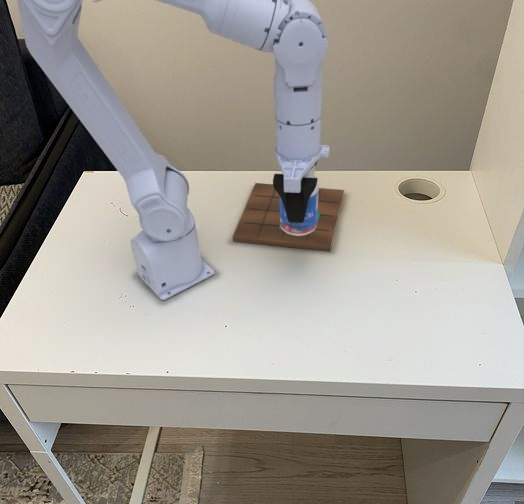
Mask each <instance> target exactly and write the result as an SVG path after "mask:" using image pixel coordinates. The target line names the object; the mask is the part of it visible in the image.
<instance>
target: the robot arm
mask: <svg viewBox="0 0 524 504" xmlns="http://www.w3.org/2000/svg"><path fill="white" fill-rule="evenodd" d="M101 1H102V0H92V3H93V4H95V3H98V2H101ZM155 1H156V2H158V3H162V4H165V5H169V6H172V7H175V8H176V9H177V8H178V9H181V10H184V11H187V12H190V13H193V14H195V15H200V17H201V18H202V20H203V21H204V23H205V25H206V28H207V30H208V31H209V32H210V33H211V34H214V35H217V36H219V37H222V38H224V39H227V40H229V41H233V42H235V43H238V44H241V45H242V46H246V47H249V48H252V49H254V50H257V51H260V52H263V53H272V54H273V55H274V65H275V67H274V69H275V72H274V76H273V96H274V126H275V147H274V157H275V160H276V162H277V165H278V166H279V168H280V172H281V173H274V174H273V178H272V184H273V186H274V189H275V190H276V191H277V193H278V194H279V196H280V198H281V199H282V202H283V205H284V208H285V212H286V216H287V219H288V221H289V222H292V223H303V222H304V219H305V215H306V210H307V205H308V201H309V198H310V196H311V194H312V193H313V191H314V190H315V188H316V185H317V179H318V180H319V178H318V177H316V178H304V175H305V174H306V173H307V172H308V171H309V170H310V169H311V167H312V166H313V165H314V164H315V167H316V166H317V163H318V162H319V159H322V158H323V159H325V158H328V157H329V156H330V149H331V148H330V146H329V144H328V145H327V144H322V141H321V139H322V112H323V111H322V109H323V108H322V107H323V73H322V68H323V60H324V58H325V56H326V55H327V52H328V48H329V40H328V39H327V31H326V28H325V26H324V23H323V20H322V17H321V15H320V12H319V9H317V7H316V5H314V3H313V2H312V1H311V0H155ZM16 3H17V7H18V13H19V17H20V21H21V27H22V32H23V37H24V41H25V46H26V48H27V50H28V52H29V53H30V55H31V56H32V58H33V59H34V60H35V62H36V63H37V65H38V66H39V67H40V69H41V70H42V71H43V73H44V74H45V75H46V76H47V78H48V79H49V81H50V82H51V83H52V85H53V86H54V87H55V89H56V90H57V91H58V93H59V94H60V96H62V98H63V99H64V100H65V102H66V104H67V105H68V106H69V107H70V109H71V110H72V112H73V113H74V114H75V115H76V117H77V118H78V120H79V121H80V122H81V124H82V125H83V126H84V127H85V129H86V130H87V131H88V133H89V134H90V136H91V137H92V138H93V140H94V141H95V142H96V144H97V145H98V147H99V148H100V149H101V150H102V152H103V154H105V156H106V157H107V159H108V160H109V161H110V163H111V164H112V166H114V168H115V169H116V171H117V172H118V173H119V175H120V176H121V177H122V179H123V180H124V182H125V187H126V189H127V193H128V197H129V200H130V204H131V206H132V207H133V209H134V210H135V212H136V213H137V215H138V220H139V225H140V227H141V229H142V230H141V231H140V233H138V234H137V235H136V236H134V237H133V238H132V239H130V248H131V251H132V256H133V259H134V262H135V265H136V269H137V276H138V278H140V279H141V280H142V281H143V282H144V284H145V285H146V286H147V287H148V288H149V289H150V290H151V291H152V292H153V293H154V295H156V296H157V298H158V299H160V300H161V301H166V300H167V299H170V298H171V297H174V296H175V295H177V294H179V293H181V292H183V291H184V290H187V289H189V288H191V287H193V286H194V285H196V284H198V283H200V282H202V281H204V280H207V279H208V278H210V277H211V276H214V275H215V270H214V269H213V268H212V267H211V266H210V265H209V264H208V263H207V262H205V261H204V260H203V259H202V255H201V248H200V242H199V236H198V231H197V224H196V220H195V219H196V218H195V216H194V214H193V213H192V212H191V210H190V209H189V207H188V197H189V194H190V184H189V183H190V182H189V180H188V178H187V177H186V175H185V174H184V172H182V171H180V170H179V169H177V168H175V167H174V166H173V165H171V163H170V162H169V161H168V160H167V158H166V156H165V155H163V154H159V153H157V152H155V151H154V149H153V147H152V146H151V145H150V143H149V142H148V140H147V139H146V137H145V136H144V134H143V133H142V131H141V129H140V128H139V127H138V125H137V124H136V122H135V121H134V119H133V118H132V116H131V114H130V113H129V112H128V110H127V109H126V107H125V106H124V104H123V103H122V101H121V100H120V98H119V96H118V95H117V93H116V92H115V91H114V89H113V88H112V86H111V85H110V83H109V82H108V81H107V79H106V77H105V76H104V75H103V73H102V71H101V70H100V68H99V67H98V65H97V64H96V62H95V61H94V60H93V58H92V56H91V55H90V54H89V52H88V50H87V49H86V47H85V46H84V44H83V43H82V42H81V40H80V38H79V36H78V33H79V27H80V20H81V16H82V15H81V14H82V9H83V5H82V4H83V0H16Z"/></svg>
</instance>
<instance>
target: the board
mask: <svg viewBox="0 0 524 504" xmlns="http://www.w3.org/2000/svg"><path fill="white" fill-rule="evenodd" d="M344 195H345V190H344V189H336V188H324V187H319V195H318V214H317V226H316V228H315V229H314V231H312V232H311V233H309V234H307V235H302V236H295V235H290V234H288V233H286V232H284V231H283V230H282V228H281V226H280V196H279V194H278V193H277V191H276V190H275V189H274V186H273V183H264V182H263V183H262V182H255V183H254V186H253V188H252V191H251V193H250V195H249V197H248V199H247V201H246V205H245V207H244V209H243V212H242V214H241V216H240V219H239V221H238V223H237V226H236V228H235V230H234V233H233V235H232V242H233V243H235V242H236V243H243V244H244V243H245V244H253V245H254V244H256V245H264V246H275V247H283V248H284V247H285V248H293V249H303V250H313V251H323V252H331V251H332V247H333V243H334V238H335V234H336V230H337V225H338V221H339V217H340V213H341V208H342V204H343V200H344V197H345V196H344Z"/></svg>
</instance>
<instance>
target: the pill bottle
mask: <svg viewBox="0 0 524 504" xmlns="http://www.w3.org/2000/svg"><path fill="white" fill-rule="evenodd" d="M315 174H316V166H315V164H314V165H313V166H312V167H311V169H310V170H309V171H308V172H307V173H306V174H305V175H304V178H317V176H316V175H315ZM319 188H320V182H319V178H318V179H317V185H316V188H315V190H314V191H313V193H312V194H311V196H310V198H309V201H308V205H307V210H306V215H305V219H304V222H303V223H292V222H289V221H288V219H287V216H286V212H285V208H284V205H283V202H282V199H281V198H280V226H281V228H282V230H283V231H284V232H286V233H288V234H290V235H295V236H302V235H307V234H309V233H311V232H312V231H314V229H315V228H316V226H317V214H318V195H319Z"/></svg>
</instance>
